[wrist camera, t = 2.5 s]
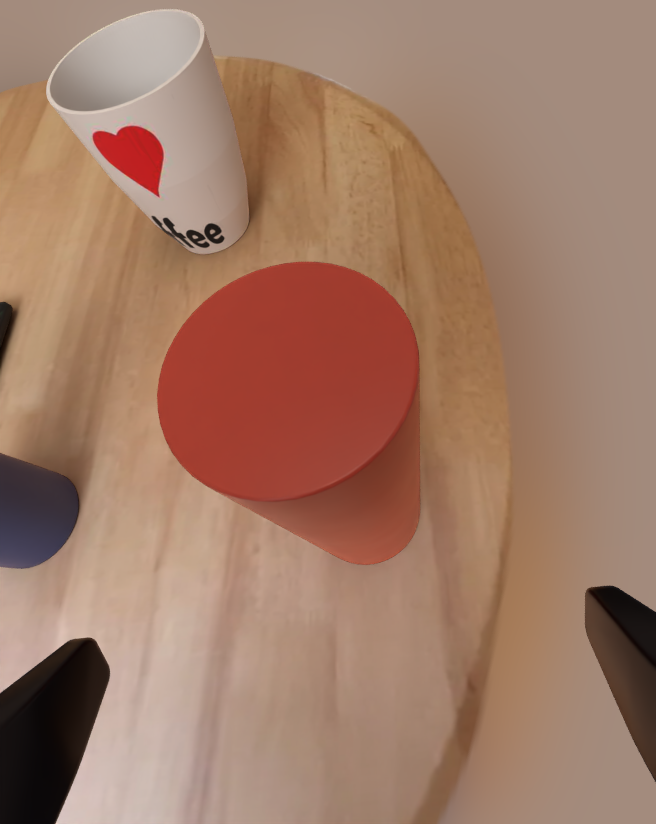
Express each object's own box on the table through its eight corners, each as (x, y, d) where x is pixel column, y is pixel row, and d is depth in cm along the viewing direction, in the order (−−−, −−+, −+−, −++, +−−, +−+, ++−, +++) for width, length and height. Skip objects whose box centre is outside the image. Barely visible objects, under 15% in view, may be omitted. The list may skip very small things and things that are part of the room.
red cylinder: (399, 583, 18) (360, 549, 6) (294, 540, 20) (107, 448, 8) (433, 473, 20) (454, 283, 8) (333, 441, 21) (227, 243, 9)
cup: (137, 249, 30) (15, 96, 21) (209, 171, 32) (126, 1, 23) (221, 288, 27) (120, 129, 18) (295, 200, 29) (238, 16, 20)
